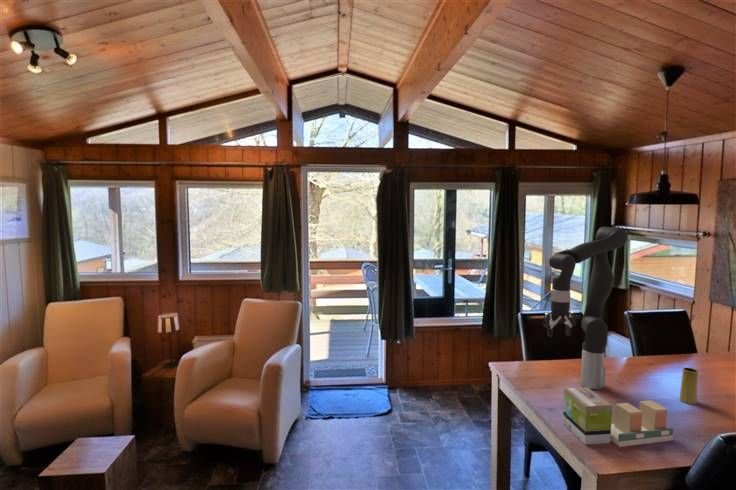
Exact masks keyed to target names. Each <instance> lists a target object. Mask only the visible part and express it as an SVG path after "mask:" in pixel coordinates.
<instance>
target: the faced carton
mask: <svg viewBox="0 0 736 490" xmlns="http://www.w3.org/2000/svg"><path fill="white" fill-rule="evenodd" d="M638 405H639V410H641V411H642V427H644V428H645V429H647V430H656V429H664V428H667V417H668V408H666V407H664V406H662V405H661V404H659V403H657V402H655V401H653V400H641V401H639V404H638Z"/></svg>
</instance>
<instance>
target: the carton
mask: <svg viewBox="0 0 736 490" xmlns="http://www.w3.org/2000/svg"><path fill="white" fill-rule="evenodd" d="M614 406H615V407H614V408H615V409H614V421H613V422H614V423H613V424H614V427H615V428H617V429H618V430H620V431H621V432H623V433H630V432H639V431H641V427H642V411H641V410H639V409H638V408H637V407H635V406H634V405H633V404H630V403H628V402H622V403H621V402H620V403H615V405H614Z"/></svg>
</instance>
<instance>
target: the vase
mask: <svg viewBox="0 0 736 490" xmlns="http://www.w3.org/2000/svg"><path fill="white" fill-rule="evenodd" d="M698 375H699V371H698V370H697V369H696V368H692V367H682V377H681V384H680V385H681V386H680V392H679V400H680V402H682V403H684V404H687V405H697V404H698V379H699V378H698Z"/></svg>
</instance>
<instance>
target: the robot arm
mask: <svg viewBox="0 0 736 490" xmlns="http://www.w3.org/2000/svg"><path fill="white" fill-rule="evenodd" d="M627 238H628V236H627V232H626V231H625V230H624V229H622V228H618V227H611V226H601V227H600V228H598V230H597V232H596V235H595V240H591V241H587V242H584V243H580V244H578V245H576V246H574V247H572V248H569V249H565V250H561V251H557V252H555V253H553V254H552V255H551V256H550V258H549V260H548V264H549V266H550V267H551V269H554V270H559V271H560V273H559V274H558V275H553V277H552V286H551V288H552V289H551V293H550V294H551V295H550V309H551V312H550V313H547V312H544V313H543V321H542V326H543V327H545V328H547V329H546V331H547V333H546V334H547V336H548V337H550V338H553V336H554V329H553V328H554V327H555V326H556V325H558V324H560V323H562V324H565V335H566V336H567V337H570V336H571V335H572V327H576V326H577V317H576V315H577V313H576V312H574V311H571V280H572V277H573V274H574V272H575V268H576V264H581V263H582V262H584V261H586V260H588V259H590V258H591V257H593V263H592V271H591V275H590V279H589V285H588V293H587V299H586V300H587V301H586V305H585V308H584V309H585V310H584V312H583V315H582V319H581V328H582V330H583V331H584V332H585V336H584V337H585V338H584V339H585V341H584V342H583V343H582V347H581V348H582V350H581V370H580V385H581V386H582V387H588V388H589V389H590V390H597V391H598V390H602V389H603V388H605V387H606V385H605V383H606V367H605V352H606V351H605V350H606V347H607V344H608V335H609V333H608V332H609V330H608V325H607V323H606V321H604V320H603V319H602V317H603V308H604V305H605V303H606V302H607V299H608V298H609V297H610V294H611V292H612V290H613V285H614V279H615V277H614V272H613V269H612V268H611V265H610V262H609V259H608V252H609V251H613V250H617V249H620V248H622V247H623V246H624V245H625V244H626V242H627Z"/></svg>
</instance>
